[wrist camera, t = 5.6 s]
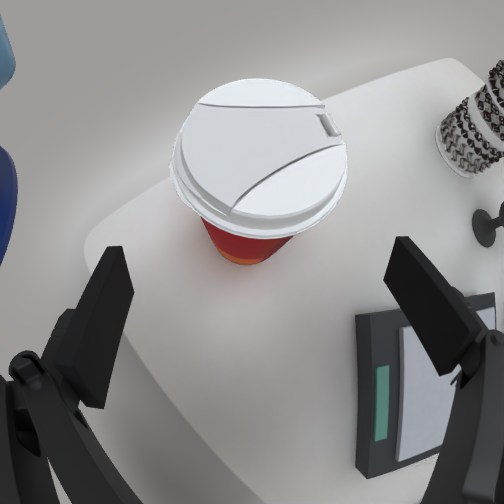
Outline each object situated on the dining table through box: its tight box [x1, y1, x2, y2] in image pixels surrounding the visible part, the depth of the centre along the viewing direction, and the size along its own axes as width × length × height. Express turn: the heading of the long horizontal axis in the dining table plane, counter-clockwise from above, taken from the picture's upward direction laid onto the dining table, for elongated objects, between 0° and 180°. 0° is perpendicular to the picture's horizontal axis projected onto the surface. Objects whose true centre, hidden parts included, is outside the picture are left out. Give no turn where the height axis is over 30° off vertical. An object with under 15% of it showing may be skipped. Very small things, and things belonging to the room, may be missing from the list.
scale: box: [355, 292, 496, 479], centre depth 23 cm, size 17×16×4 cm
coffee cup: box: [169, 78, 348, 265], centre depth 19 cm, size 8×8×15 cm
